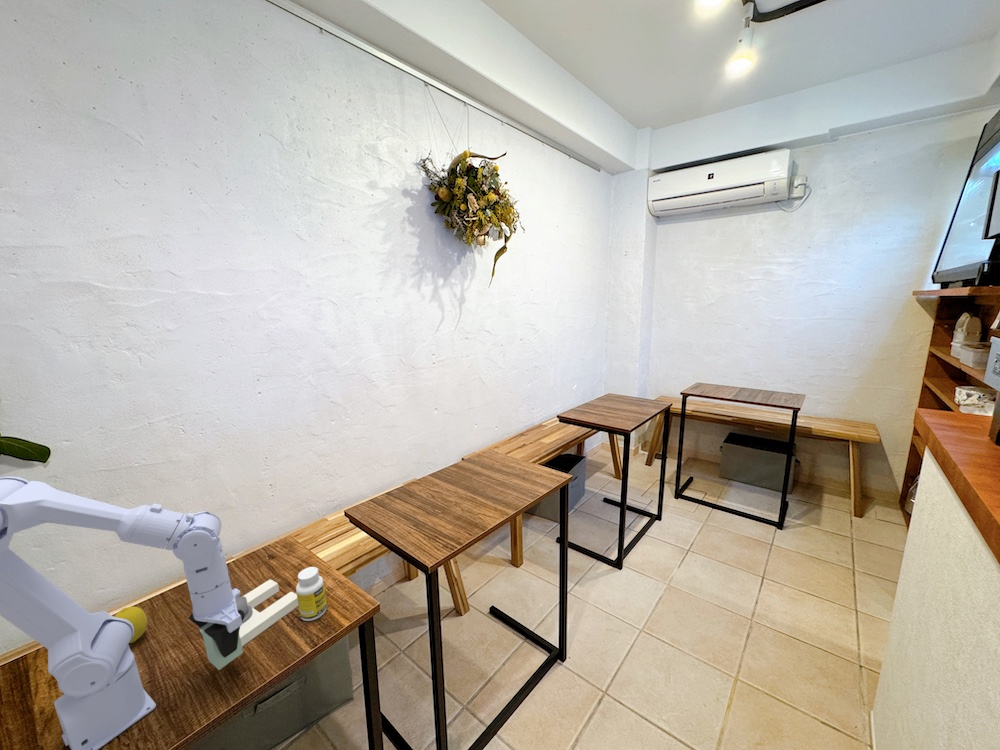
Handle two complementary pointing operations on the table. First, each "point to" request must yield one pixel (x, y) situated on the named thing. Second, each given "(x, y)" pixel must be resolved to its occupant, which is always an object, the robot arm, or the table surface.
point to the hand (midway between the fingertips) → (223, 647)
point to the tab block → (214, 652)
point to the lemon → (134, 620)
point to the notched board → (262, 620)
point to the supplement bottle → (311, 594)
